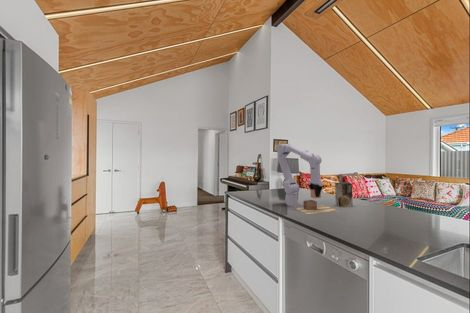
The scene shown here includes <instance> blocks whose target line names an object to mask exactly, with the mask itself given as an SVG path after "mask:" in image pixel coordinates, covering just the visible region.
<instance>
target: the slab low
mask: <svg viewBox="0 0 470 313" xmlns="http://www.w3.org/2000/svg"><path fill="white" fill-rule="evenodd" d="M317 206H318V205H317ZM317 206H306V205H304V204H303V207H304V209H306V210H317Z"/></svg>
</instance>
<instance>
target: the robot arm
mask: <svg viewBox="0 0 470 313" xmlns="http://www.w3.org/2000/svg"><path fill="white" fill-rule="evenodd" d="M275 150H276V153H277V161H278V163H279V167H280V169H281V172H282V175H283V179H284V181H285V182H284V183H283V186H284V188H283V189H284V192H285V198H284V199H285V203H284V204H285V206H288V207H297V206H298V207H299V203H298V202H299V201H298V200H299V198H298V196H299V191H300V185H299V184H298V183H297V181H296V179H294V178H293V173H292V172H291V169H290V166H289V163H288V161H287V157H288V156H289V154H290V153H291V152H292V153H294V154H296V155H297V156H299V157H300V159H301V160H304V161H305V162H307V163H308V164H309V168H310V169H309V171H310V172H309V174H310V175H309V176H310V179H309V180H307V182H308V187H309V189H310V190H309V191H311V189H315V195H316V197H319V196H320V192H321V191H322V190H323V188H324V183H323V182H322V180H321V169H320V168H321V166H320V164H321V163H322V158H321V156H320V155H317V154H316V155H315V153H311V152H309V150H307V149H305V150H302V149H300V148H298V147H296V146H295V145H293V144H290V143H279V144H277V147H276V148H275ZM321 193H322V192H321Z"/></svg>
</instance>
